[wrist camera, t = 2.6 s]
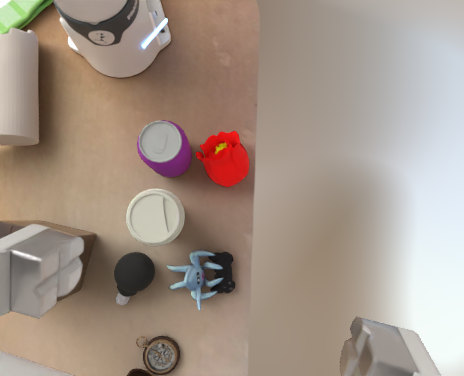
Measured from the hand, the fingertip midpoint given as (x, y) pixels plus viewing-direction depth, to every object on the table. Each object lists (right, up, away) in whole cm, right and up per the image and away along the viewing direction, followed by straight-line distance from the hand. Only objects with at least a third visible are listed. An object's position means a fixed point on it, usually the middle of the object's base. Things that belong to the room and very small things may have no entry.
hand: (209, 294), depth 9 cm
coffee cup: (-11, -2, +48) cm, 49 cm away
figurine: (-5, -13, +47) cm, 49 cm away
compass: (-13, -26, +45) cm, 54 cm away
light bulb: (-16, -12, +47) cm, 51 cm away
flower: (+1, +5, +47) cm, 48 cm away
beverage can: (-10, +9, +49) cm, 51 cm away
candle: (-39, +11, +43) cm, 59 cm away
